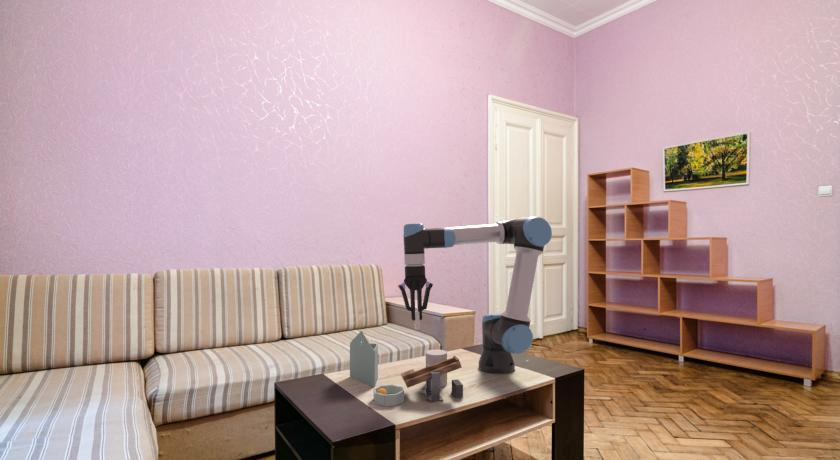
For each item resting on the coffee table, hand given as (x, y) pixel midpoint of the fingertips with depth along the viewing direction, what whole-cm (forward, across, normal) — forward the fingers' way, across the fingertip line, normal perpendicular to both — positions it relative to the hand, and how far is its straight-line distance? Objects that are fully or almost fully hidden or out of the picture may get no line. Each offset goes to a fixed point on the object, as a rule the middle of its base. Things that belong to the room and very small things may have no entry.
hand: (417, 328), depth 163 cm
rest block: (+22, -12, +9) cm, 27 cm away
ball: (+19, +15, +9) cm, 26 cm away
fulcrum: (+22, -3, +9) cm, 24 cm away
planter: (+22, +17, -14) cm, 31 cm away
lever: (+14, -3, +6) cm, 16 cm away
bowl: (+22, +13, +9) cm, 27 cm away
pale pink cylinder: (+22, -7, -3) cm, 24 cm away
